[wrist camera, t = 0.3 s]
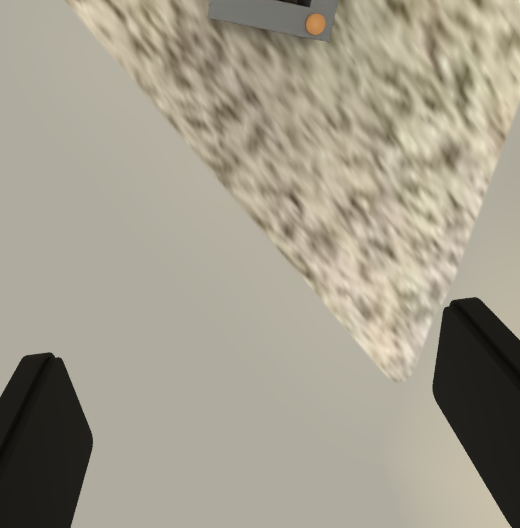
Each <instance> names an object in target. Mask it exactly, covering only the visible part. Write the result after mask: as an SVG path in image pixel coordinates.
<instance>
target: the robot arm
mask: <svg viewBox="0 0 520 528" xmlns="http://www.w3.org/2000/svg"><path fill="white" fill-rule="evenodd" d="M433 395H434V398H435V400H436V402H437V404H438V405H439V407H440V409H441V410H442V412H443V414H444V415H445V417H446V419H447V421H448V422H449V424H450V426H451V427H452V429H453V431H454V432H455V434H456V436H457V437H458V439H459V441H460V442H461V444H462V445H463V447H464V449H465V451H466V452H467V454H468V456H469V457H470V459H471V461H472V463H473V464H474V466H475V468H476V469H477V471H478V473H479V474H480V476H481V478H482V479H483V481H484V483H485V484H486V486H487V488H488V489H489V491H490V493H491V494H492V496H493V498H494V500H495V501H496V503H497V504H498V506H499V508H500V510H501V511H502V513H503V515H504V516H505V518H506V520H507V521H508V523H509V524H510V526H511V527H512V528H520V340H519V339H518V338H517V337H516V336H515V335H514V334H513V333H512V332H511V331H510V330H509V329H508V328H507V327H506V326H505V325H504V324H503V323H502V322H501V320H500V319H499V318H498V317H497V316H496V315H495V314H494V313H493V312H492V311H491V310H490V309H489V308H488V307H487V306H486V305H485V304H484V303H483V302H482V301H481V300H480V299H479V298H476V297H473V298H465V299H458V300H453V301H451V303H450V305H449V307H445V308H444V311H443V316H442V323H441V330H440V337H439V345H438V352H437V358H436V365H435V373H434V379H433ZM92 445H93V437H92V433H91V430H90V428H89V425H88V423H87V420H86V418H85V415H84V413H83V410H82V408H81V405H80V402H79V400H78V398H77V395H76V392H75V390H74V387H73V385H72V382H71V380H70V377H69V375H68V372H67V370H66V367H65V365H64V362H63V360H62V359H61V358H59V357H58V358H55V356H54V355H53V354H52V353H42V354H33V355H26V356H24V357H23V358H22V359H21V361H20V363H19V365H18V366H17V368H16V370H15V372H14V374H13V375H12V377H11V379H10V381H9V383H8V384H7V386H6V388H5V390H4V391H3V393H2V395H1V397H0V528H71V524H72V520H73V517H74V513H75V509H76V506H77V502H78V499H79V495H80V491H81V488H82V484H83V480H84V477H85V473H86V470H87V466H88V462H89V458H90V455H91V451H92V447H93V446H92Z"/></svg>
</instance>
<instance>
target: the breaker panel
mask: <svg viewBox="0 0 520 528" xmlns="http://www.w3.org/2000/svg"><path fill="white" fill-rule="evenodd" d="M337 3H338V0H298V4H297V5H295V4H291V3H286V2H281V1H277V0H210V4H209V13H208V18H212V19H217V20H222V21H227V22H232V23H237V24H242V25H247V26H251V27H256V28H261V29H266V30H271V31H276V32H281V33H286V34H291V35H296V36H301V37H306V38H311V39H316V40H321V41H326V42H329V38H330V34H331V29H332V25H333V21H334V16H335V12H336V7H337Z"/></svg>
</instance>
